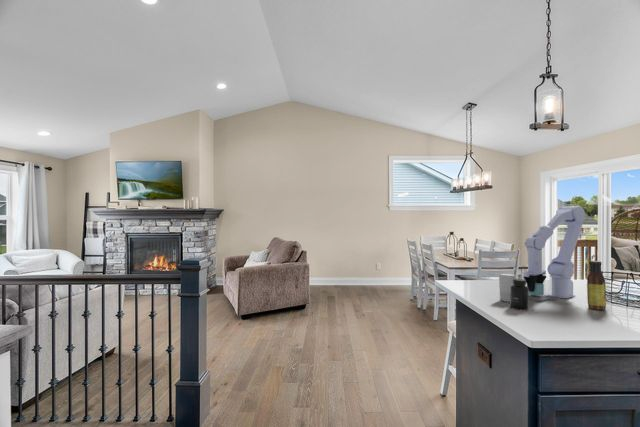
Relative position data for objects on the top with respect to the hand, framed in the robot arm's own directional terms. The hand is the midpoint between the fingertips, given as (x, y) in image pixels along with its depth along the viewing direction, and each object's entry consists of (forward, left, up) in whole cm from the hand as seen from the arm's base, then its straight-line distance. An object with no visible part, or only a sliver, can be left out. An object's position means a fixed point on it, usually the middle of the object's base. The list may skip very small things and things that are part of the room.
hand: (534, 290), depth 173 cm
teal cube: (0, 0, -2) cm, 2 cm away
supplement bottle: (+23, +7, -4) cm, 24 cm away
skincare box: (+16, -3, -4) cm, 17 cm away
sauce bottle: (-3, +24, -4) cm, 24 cm away
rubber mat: (0, 0, -3) cm, 3 cm away
